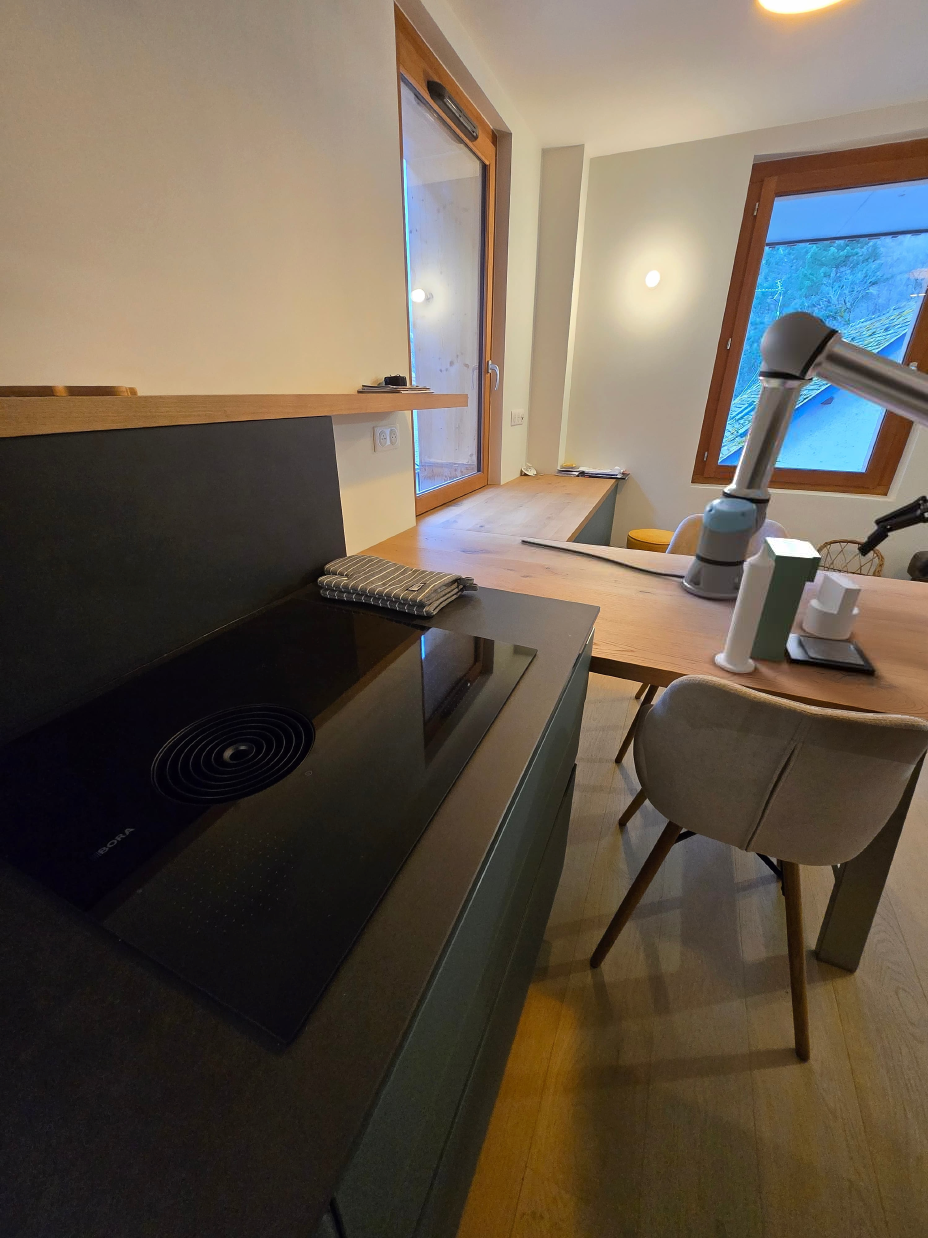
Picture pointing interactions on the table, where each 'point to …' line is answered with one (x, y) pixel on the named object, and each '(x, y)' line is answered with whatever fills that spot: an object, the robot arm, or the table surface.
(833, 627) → the base with upright slab
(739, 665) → the candle
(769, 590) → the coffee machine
